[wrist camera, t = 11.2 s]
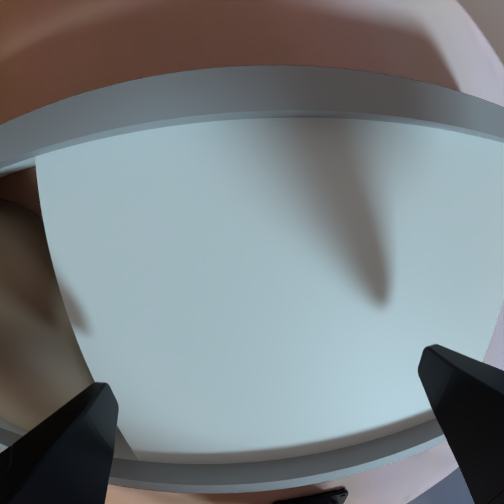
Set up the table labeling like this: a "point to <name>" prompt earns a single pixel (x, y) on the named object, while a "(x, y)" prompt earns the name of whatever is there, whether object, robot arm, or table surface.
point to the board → (268, 263)
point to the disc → (33, 325)
